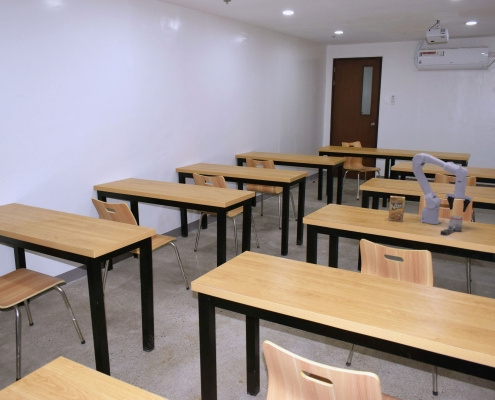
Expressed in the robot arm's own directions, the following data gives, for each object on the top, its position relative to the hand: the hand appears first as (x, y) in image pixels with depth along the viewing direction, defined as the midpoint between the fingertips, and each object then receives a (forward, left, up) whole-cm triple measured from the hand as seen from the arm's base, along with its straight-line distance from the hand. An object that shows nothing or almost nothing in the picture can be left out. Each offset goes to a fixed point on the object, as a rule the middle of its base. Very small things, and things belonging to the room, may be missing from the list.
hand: (457, 210), depth 260 cm
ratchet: (+3, -14, -10) cm, 17 cm away
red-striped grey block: (+3, -8, -8) cm, 12 cm away
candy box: (-31, -15, -10) cm, 36 cm away
